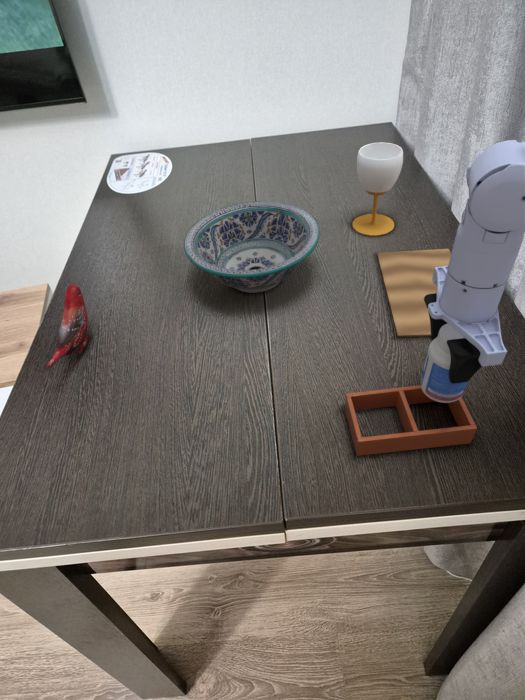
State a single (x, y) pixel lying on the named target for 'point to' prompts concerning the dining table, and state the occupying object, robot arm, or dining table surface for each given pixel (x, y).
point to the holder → (405, 422)
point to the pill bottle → (441, 369)
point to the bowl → (252, 243)
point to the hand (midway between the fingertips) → (449, 361)
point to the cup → (377, 183)
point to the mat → (411, 287)
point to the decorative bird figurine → (72, 325)
